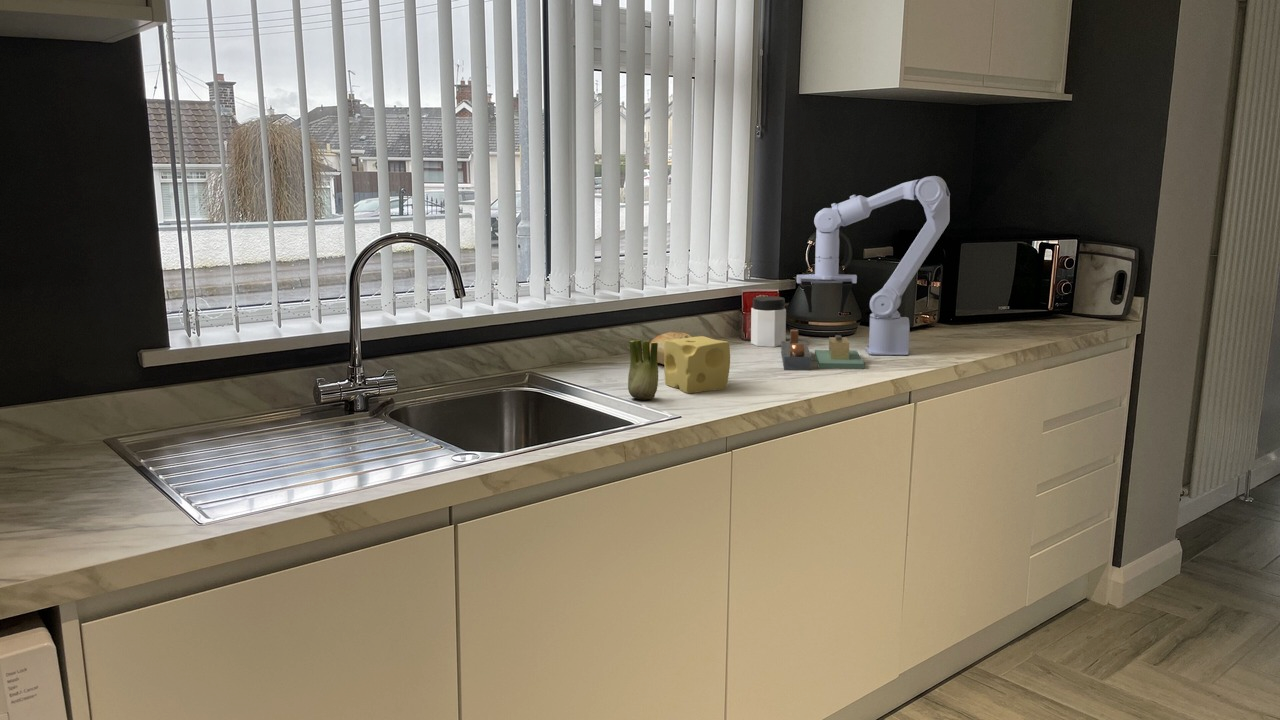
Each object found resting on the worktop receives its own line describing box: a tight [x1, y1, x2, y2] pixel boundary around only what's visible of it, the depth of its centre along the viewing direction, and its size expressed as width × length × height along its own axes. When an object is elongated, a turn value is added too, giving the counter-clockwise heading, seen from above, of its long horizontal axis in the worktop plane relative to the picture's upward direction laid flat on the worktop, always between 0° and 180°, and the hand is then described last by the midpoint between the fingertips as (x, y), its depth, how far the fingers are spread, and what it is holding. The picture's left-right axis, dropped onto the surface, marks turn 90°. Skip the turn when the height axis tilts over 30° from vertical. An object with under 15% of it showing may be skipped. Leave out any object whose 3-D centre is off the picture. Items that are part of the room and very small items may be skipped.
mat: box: [814, 349, 865, 370], centre depth 229 cm, size 10×16×1 cm, turn 174°
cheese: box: [663, 335, 731, 395], centre depth 204 cm, size 10×11×10 cm
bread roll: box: [649, 331, 693, 365], centre depth 226 cm, size 10×15×8 cm, turn 40°
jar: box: [750, 295, 787, 348], centre depth 251 cm, size 9×8×12 cm
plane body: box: [780, 329, 812, 371], centre depth 230 cm, size 20×6×6 cm, turn 174°
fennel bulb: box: [627, 339, 659, 401], centre depth 194 cm, size 6×5×12 cm
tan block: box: [828, 334, 850, 360], centre depth 228 cm, size 7×4×5 cm, turn 174°
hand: (825, 311), depth 243 cm, fingers open, 7 cm apart
